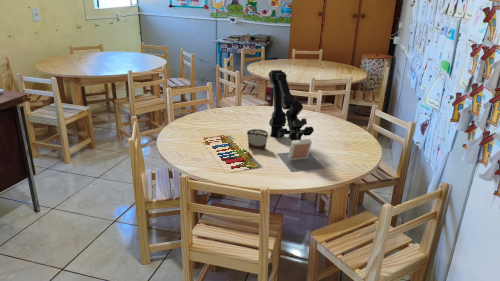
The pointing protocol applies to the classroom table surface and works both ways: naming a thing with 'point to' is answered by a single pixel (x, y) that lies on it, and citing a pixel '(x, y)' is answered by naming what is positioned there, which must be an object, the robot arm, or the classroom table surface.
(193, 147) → the classroom table surface
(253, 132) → the food container
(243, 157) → the multicolored flat board
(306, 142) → the picture tile
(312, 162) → the felt mat
